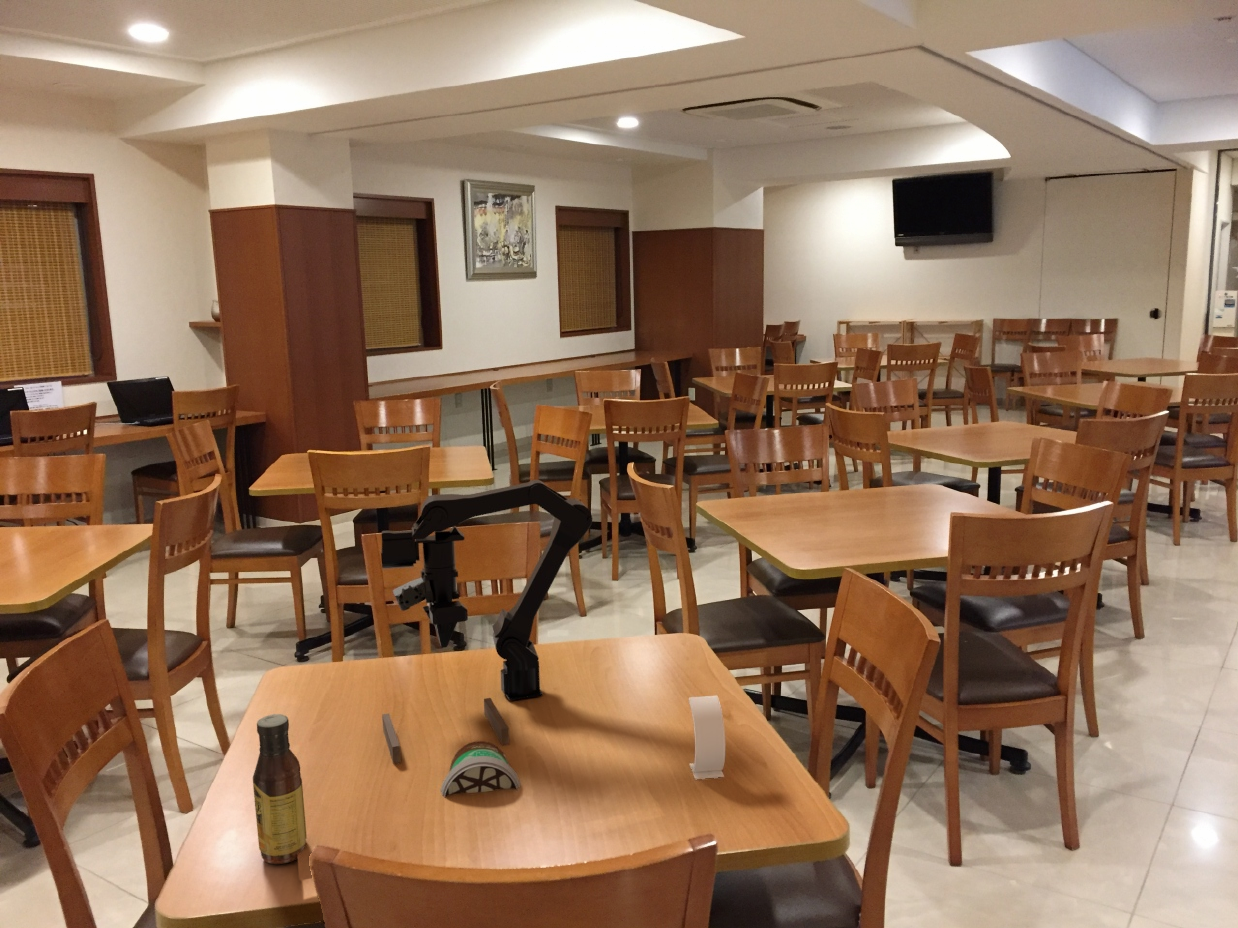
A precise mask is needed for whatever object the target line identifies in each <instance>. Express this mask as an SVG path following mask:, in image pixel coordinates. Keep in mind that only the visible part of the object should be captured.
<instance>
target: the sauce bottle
mask: <svg viewBox="0 0 1238 928" xmlns="http://www.w3.org/2000/svg"><path fill="white" fill-rule="evenodd" d="M289 726H290V725H289V717H288V716H287V715H286V714H281V713H277V714H275V713H274V714H268V715H266V716H263V717H261V718H260V719H258V720H257V722H256V733H257V735H258V739H259V754H258V758H257V762H256V766H255V768H254V772H253V775H252V785H253V797H254V806H255V807H254V809H255V817H256V818H255V819H256V820H255V821H256V829H257V830H256V831H257V840H258V849H259V850H260V856H261V858H262V859H263V861H264V862H265V863H267V864H272V865H273V864H274V865H280V864H281V865H283V864H287V863H291V862H294V861H296V860H298V854H299V853H301V851H303V850H304V849H305V848H306V846H307V825H306V812H305V801H304V789H303V779H302V774H301V765H300V761H299V759H298V758H297V756H296V754H294V753H293V752H292V750H291V749H290V747H291V744H290V739H289V728H290V727H289Z"/></svg>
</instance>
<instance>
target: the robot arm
mask: <svg viewBox="0 0 1238 928" xmlns="http://www.w3.org/2000/svg"><path fill="white" fill-rule="evenodd" d="M531 505H537V506H538V507H540V508H541V509H543V510H544V511H545V512H547V513H548V514H550V515H551V516H552V517H554V518H553V521H552V525H551V530H550V533H549V534H550V535H549V539H548V541H547V544H546V546H545V548H544V550H542V554H541V555H540V557H539V559H538V561H537V563H536V564H535V566H534V569H533V570H532V573H531V574H530V577H529V578H528V580H527V581H526V584H525V586H524V588H523V590H522V592H520V593H521V594H519V595H520V596H519V597H518V599H517V602H516V603H515V605H514V606H512V608H511V609H509V610H508V611H507V610H506V609H504V608H501V609H500V612H499V615H498V617H497V620H496V621H495V623H494V624H493V625H491V626H492V631H493V633H492V639H493V643H494V644H493V645H494V647H495V651H496V652H497V653H496V654H497V655H498V656H499V658H501V659H503V661H502V667H503V668H502V669H501V670H500V690H501V691H502V693H503V695H505V696H506V697H507V699H508V701H517V700H524V699H529V698H530V699H531V698H535V697H536V698H537V697H542V696H543V691H542V690H541V687H540V686H541V683H540V682H541V681H540V677H541V676H540V661H539V655H538V653H537V651H536V647H535V645H534V644H535V643H534V642H533V641H531V639H530V638H531V634H532V630H533V626H534V625H533V624H534V620H535V617H536V615H537V613H538V611H539V609H540V607H542V606H541V605H542V603H543V602H544V600H545V598H546V596H547V593H548V592H549V590H550V588H551V587H552V586H553V585H552V584H553V582H554V580H555V578H556V577H557V576H558V573H559V571H560V569H561V568H562V565H563V563H564V561H565V559H566V558H567V556H568V553H569V552H570V551H571V550H572V549H573V548H574V547H575V546H576V545H577V544H578V543H579V542H580V541H581V540H582V539H583V538H584V536H585V535H586V533H588V531H589V530H590V528H591V527H592V524H593V515H592V513H591V511H590V509H589V508H588V507H587V506H586V504H584V502H582V501H581V500H579V499H577V498H567V497H566V496H564V495H562V494H561V493H559V492H557V491H556V490H555V489H553V488H551V487H550V486H549V485H546V483H544V481H542V480H539V479H531V480H530V481H528V482H523V483H518V484H514V485H510V486H504V487H500V488H495V489H491V490H486V491H485V490H484V491H481V492H475V493H472V494H471V493H470V494H459V493H448V494H447V493H443V494H442V493H441V494H433V495H430V496H427V497H426V498H425V499H424V501H423V502H422V504H421V507H420V515H419V517H418V518H417V520H416V521H415V523H413V525H412V527H411V530H408V529H407V530H382V531H381V552H380V555H381V556H380V557H381V568H382V570H386V569H387V570H388V569H401V568H413V567H414V565H415V564H417V562H420V561H421V560H420V544H422V557H423V567H422V570H420V577H419V578H416V579H413V580H411V581H409V582H406V583H404V584H401V585H400V586H398V587H395V588H394V589H393V590H392V593H393V595H394V598H395V600H396V602H397V604H398V606H399V608H400V610H401V611H402V612H404V611H406V610H409V609H411V607H414V606H415V605H417V604H419V603H421V602H423V601H425V603H426V604H427V605H425V606H423V607H422V609H423V611H424V612H425V614H426V616H427V617H428V619H429V621H430V622H431V623H432V625H434V627H435V632H436V635H437V639H438V642H439V645H440V647H441V648H442V649H443V648H447V647H448V646H449V643H450V640H451V638H452V636H453V633H454V631H455V629H456V627H457V624H458V623H460V622H462V623H463V622H467V621H468V619H469V617H468V615H469V614H468V608H467V607H466V606H465V605H464V604H463V603H462V602H461V601H460V600H459V599H460V592H459V591H458V589H457V588H458V587H457V578H458V577H459V571H458V570H457V567H456V549H455V547H456V545H455V542H460V541H462V542H463V541H465V534H464V533H463V532H462V531H461V530H459V528H457V526H458V525H460V524H462V523H464V522H466V521H468V520H469V519H473V518H475V517H479V516H485V515H489V514H494V513H498V512H502V511H508V510H512V509H517V508H521V507H526V506H527V507H528V506H531ZM450 528H451V529H450ZM448 529H449V530H448ZM433 533H434V534H433ZM431 534H433V535H431Z"/></svg>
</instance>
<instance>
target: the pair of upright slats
mask: <svg viewBox="0 0 1238 928" xmlns="http://www.w3.org/2000/svg"><path fill="white" fill-rule="evenodd" d="M483 713H484V715H485V717H486V719H487V722H488V723H489V725H490V726H491V728H492V729H493V732H494V734H495V735H496V737H497V738H498V740H499V742H500V744H501V745H502V747H503V746H507V745H510V730H509V729H510V728H509V726H508V725H507V724H508V723H506V721H505V719H504V718H503V716H502V715H501V713H500V711H499V710H498V708H497V707H496V705H495V703H494V701H493V700H492V698H491V697H486V698H483ZM381 717H382V731H383V736H384V737H385V741H386V744H387V748H388V751H389V754H390V757H391V761H392V764H393V765H398V764H401V763H402V758H401V757H402V756H401V746H400V741H399V739H398V736H397V733H396V730H395V727H394V724H393V721H392V719H391V715H390V713H383V714H381Z"/></svg>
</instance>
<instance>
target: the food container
mask: <svg viewBox="0 0 1238 928" xmlns="http://www.w3.org/2000/svg"><path fill="white" fill-rule="evenodd" d="M449 766H450V767H449V771H448V772H447V775H446V776H445V778H444V780H443V782H442V785H441V789H440V793H441V795H442V796H443V798H446V796H450V795H457V794H459V795H460V794H470V793H471V794H473V793H475V794H476V793H486V792H490V791H491V792H492V791H497V790H499V791H500V790H507V789H516V790H517V791H518V790H519V789H520V786H521V782H520V779H519V776H518V774H517V772H516V771H515V770H514V768H513V767H511V765H510V764H509V761H508V759H507V757H506V755H505V753H504V751H502V749H500V747H499V746H497V745H496V744H494V743H491V742H489V741H488V742H487V741H481V740H480V741H478V740H477V741H473V742H470V743H468V744H466V745H463V747H462V748H460V749H459V750H457V752H456V753H455V754H454V756H453V758H452V760H451V763H450V765H449Z"/></svg>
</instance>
